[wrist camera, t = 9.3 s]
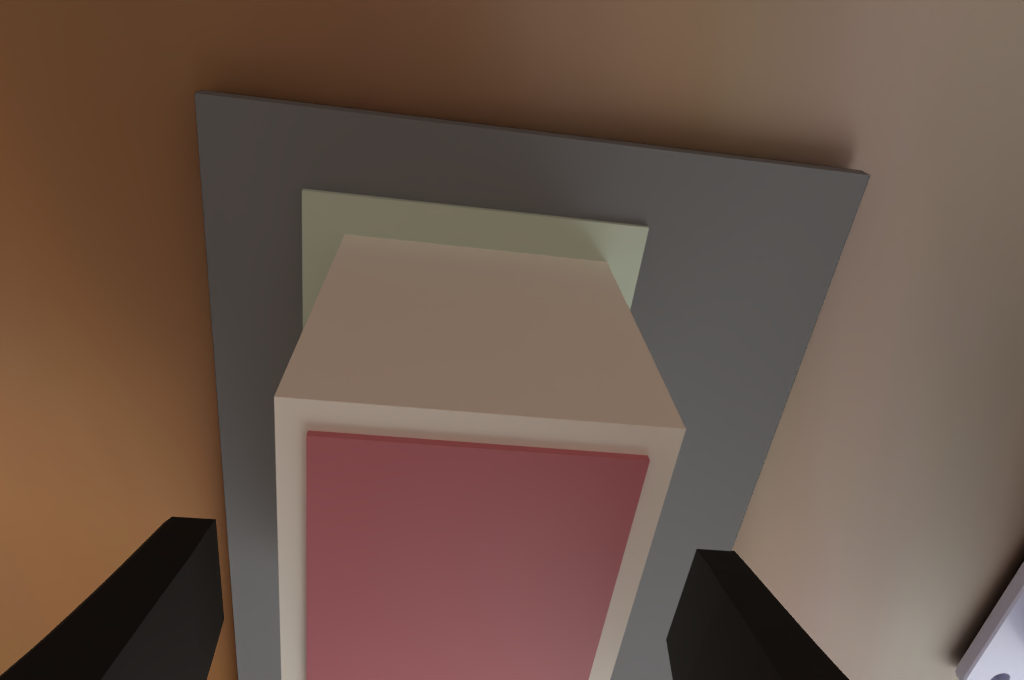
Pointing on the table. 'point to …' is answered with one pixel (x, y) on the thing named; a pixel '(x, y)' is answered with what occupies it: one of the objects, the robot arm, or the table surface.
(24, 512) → the table surface
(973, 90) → the table surface
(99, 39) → the table surface
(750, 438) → the mat
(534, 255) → the card box
